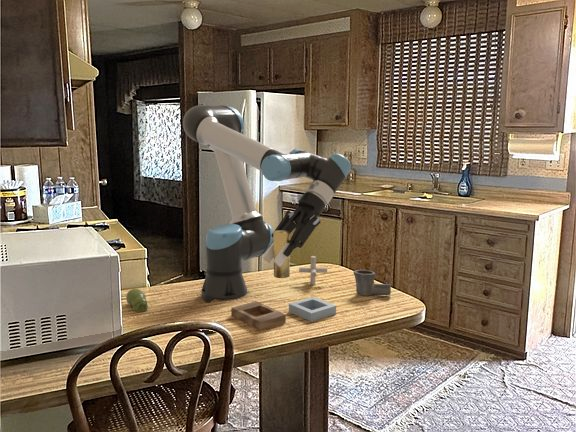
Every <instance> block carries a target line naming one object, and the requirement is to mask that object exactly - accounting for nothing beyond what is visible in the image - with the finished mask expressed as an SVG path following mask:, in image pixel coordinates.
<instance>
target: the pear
mask: <svg viewBox="0 0 576 432" xmlns="http://www.w3.org/2000/svg"><path fill="white" fill-rule="evenodd" d="M125 298H126V302H127V304H128V305H130V306H132V311H134V312H135V313H141V312H147V311H148V309H149V306H148V301H147V296H146V294H145V293H144V292H143V291H142V290H141V289H139V288H133V289H132V288H131V289H129V290H128V292H127V293H126V297H125Z"/></svg>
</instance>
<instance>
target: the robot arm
mask: <svg viewBox="0 0 576 432" xmlns="http://www.w3.org/2000/svg"><path fill="white" fill-rule="evenodd" d="M244 123H245V122H244V119H243V116H242V114H241V113H240V112H239V110H237V109H236V108H235V107H232V106H230V105H229V106H228V105H224V104H223V105H206V104H201V105H200V104H199V105H195V106H192V107H190V108H189V109H188V110H187V111H186V112H185V114H184V116H183V119H182V127H183V131H184V133H185V134H186V136H187V137H189V139H191V140H193V141H194V142H196V143H198V144H200V145H202V146H207V145H208V146H207V147H208V148H209V150H212V152H214V155H215V158H216V162H217V166H218V169H219V173H220V176H221V181H222V184H223V188H224V192H225V195H226V200H227V203H228V207H229V210H230V213H231V218H232V219H231V220H230V222H229V223H224V224H218V225H214V226H212V227H210V228H209V229H208V230H207V232H206V235H205V236H206V237H205V243H204V244H205V259H206V261H205V262H206V265H205V266H206V267H205V268H206V269H205V270H206V274H205V278H204V281H203V285H202V287H201V291H200V293H201V294H200V295H201V299H202V300H203V301H204V302H207V303H212V302H213V301H215V300H216V301H217V300H218V301H230V300H231V301H232V300H236V299H240V298H242V297H245V296H247V294H248V288H247V285H246V281H245V279H244V276H243V262H244V261H248V260H251V259H255V258H258V257H259V258H260V257H261V256H262V259H263V260H264V261H265V262H266V263H267V264H271V261H272V260H273V263H274V262H275V263H276V264H277V265H278V266H279V267H281V266H282V264H283V263H284V261H285V260H286V258H287V257H288V256H289V255H290V256H291V254H292V252H293V251H294V250H295V249H297V248H299V249H301V248H302V247H304V245H305V243H306V242H307V240H308V239H309V237H310V236H311V235H312V233H313V232H314V230H315V229H316V227H318V226H319V225H320V224H321V220H320V219H319V218H318V217H320V215H321V214H322V213H323V211H324V210H325V209H326V206H327V205H328V204H329V203H330V202H331V200H332V198H333V197H334V196H335V193H336V192H337V191H338V189H339V188H340V186H341V185H342V184H343V183H344V181H345V180H346V179H347V177H348V175H349V173H350V172H351V170H352V165H351V162H350V160H349V159H348V158H347V157H345V155H342V154H340V153H332V154H331V155H330V156H329V157H328V158H327V157H323V156H319V155H317V154H315V153H311V152H309V151H307V150H305V149H299V148H295V149H294V148H293V149H292V150H291V151H290V152H289V153H283V152H280V151H278V150H276V149H274V148H272V147H270V146H268V145H266V144H263V142H260V141H257V140H255V139H253V138H251V137H250V136H248V135H247V136H246V135H245V134H243V129H244V126H245V124H244ZM244 163H245V164H247V165H248V166H250V167H253V168H255V169H256V170H259V171H260V172H261V173H262V175H263V177H264V178H265V179H266V180H268V181H269V182H283V181H287V180H292V179H298V178H301V179H302V178H308V179H310V180H313V181H312V182H311V183H310V185H309V186H308V187H307V189H306V191H305V192H304V193H303V195H302V196H301V197H300V198H299V200H298V206H297V208H295V209H294V211H291V210H289V209H288V210H286V212H285V215H284V216H283V218H282V219H281V221H280V222H279V223H278V224H277V226H276V228H275V229H273V227H272V226H271V225H270V224H269V222H266V221H265V220H264V218H263V215H262V214H261V213H259V212H258V211H257V210H256V204H255V201H254V197H253V194H252V191H251V190H252V189H251V187H250V182H249V179H248V176H247V173H246V168H245V164H244ZM277 230H286V231H289V232H290V234H291V233H292V232H293V233H292V235H291V236H290V237H291V238H290V240H288V243H289V244H288V243H286V244H285V245H284V246H283V248H282V249H281V251H280V252H279V254H278V255H277V256H276V258H275V259H274V242H273V232H274V231H277Z"/></svg>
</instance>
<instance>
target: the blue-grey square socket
mask: <svg viewBox="0 0 576 432" xmlns="http://www.w3.org/2000/svg"><path fill="white" fill-rule="evenodd" d="M288 313H290V314H292V315H296V316H298V317H300V318H301V319H305V320H307V321H309V322H314V321H315V322H316V321H318V320H321V319H324V318H327V317H330V316H334V315H336V314H337V305H335V304H333V303H331V302H327V301H325V300H322V299H320V298H318V297H315V296H311V297H308V298H307V297H306V298H305V299H302V300H301V299H300V300H297V301H294V302H290V303H288Z"/></svg>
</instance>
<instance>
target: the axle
mask: <svg viewBox="0 0 576 432" xmlns="http://www.w3.org/2000/svg"><path fill="white" fill-rule="evenodd" d="M290 235H291V233H290V232H289V231H286V230H277V231H275V230H273V242H274V257H273V260H274V259H275V258H276V256H277V255H278V254H279V252H280V251H281V249H282V248H283V246H284V245H285V244H286V243H288V240H290V239H291V238H290V237H291V236H290ZM288 244H289V243H288ZM290 256H291V254H290V255H289V256H288V257H287V258H286V260H285V261H284V263H283V264H282V266H281V267H279V266H278V265H277V264H276V263H275V262H274V261H273V277H274V278H276V279H287V278H290V275H291V274H290V273H291V270H290V269H291V267H290V265H291V264H290V263H291V262H290V261H291V257H290Z"/></svg>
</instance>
